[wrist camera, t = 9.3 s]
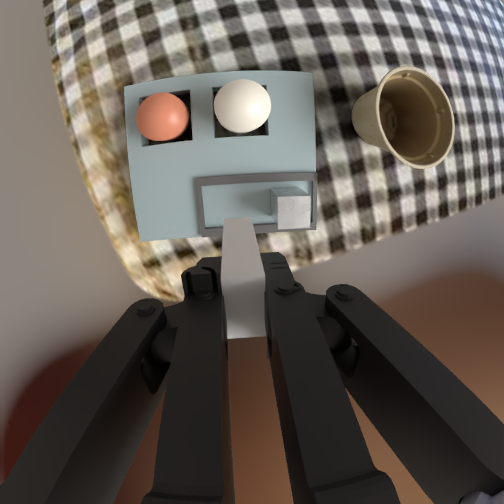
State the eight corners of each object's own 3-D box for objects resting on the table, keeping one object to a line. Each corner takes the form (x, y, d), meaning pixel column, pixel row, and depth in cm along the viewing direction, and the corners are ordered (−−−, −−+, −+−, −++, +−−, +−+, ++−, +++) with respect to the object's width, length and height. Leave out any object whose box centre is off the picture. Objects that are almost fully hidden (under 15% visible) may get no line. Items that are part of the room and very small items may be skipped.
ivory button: (215, 89, 22) (212, 80, 18) (263, 87, 22) (269, 78, 18) (217, 134, 23) (215, 133, 20) (265, 132, 24) (272, 131, 20)
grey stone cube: (270, 188, 26) (277, 197, 22) (299, 187, 26) (310, 195, 22) (271, 216, 27) (278, 229, 23) (299, 215, 27) (309, 227, 23)
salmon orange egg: (147, 102, 23) (135, 97, 19) (189, 95, 23) (183, 88, 20) (149, 143, 25) (137, 144, 21) (192, 137, 25) (186, 137, 21)
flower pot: (322, 94, 25) (357, 80, 17) (387, 71, 24) (432, 58, 16) (357, 171, 28) (400, 185, 20) (416, 142, 27) (464, 149, 19)
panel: (132, 90, 23) (122, 85, 20) (305, 77, 24) (314, 71, 21) (146, 233, 29) (138, 243, 26) (308, 222, 30) (316, 230, 27)
